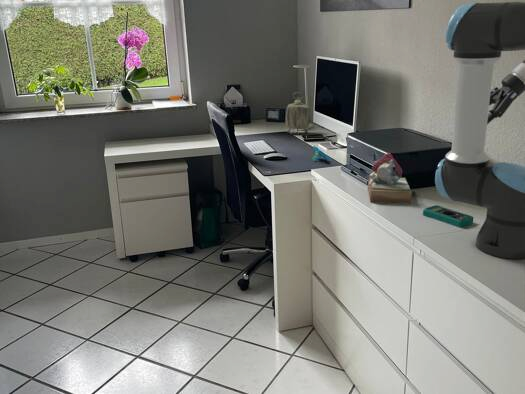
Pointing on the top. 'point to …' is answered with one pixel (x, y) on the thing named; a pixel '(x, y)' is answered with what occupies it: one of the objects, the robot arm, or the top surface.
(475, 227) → the top surface
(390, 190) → the walnut stand
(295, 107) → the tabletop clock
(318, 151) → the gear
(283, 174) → the top surface
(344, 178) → the top surface
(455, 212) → the digital multimeter
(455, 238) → the top surface
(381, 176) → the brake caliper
